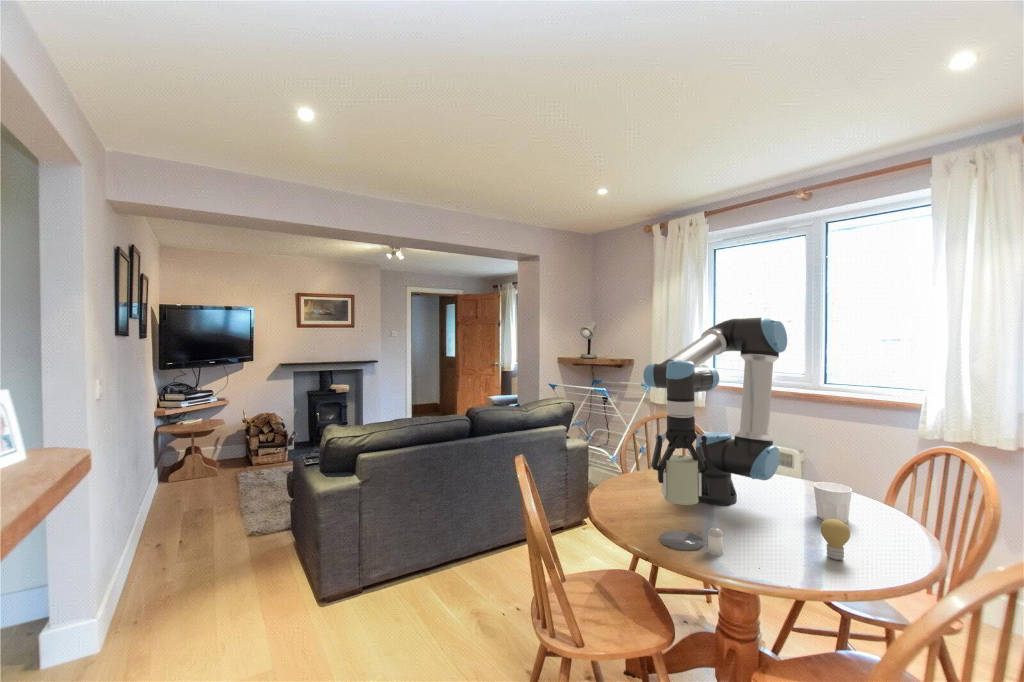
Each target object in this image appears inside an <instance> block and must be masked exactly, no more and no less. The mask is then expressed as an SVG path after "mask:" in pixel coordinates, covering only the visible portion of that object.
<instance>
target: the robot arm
mask: <svg viewBox="0 0 1024 682" xmlns="http://www.w3.org/2000/svg"><path fill="white" fill-rule="evenodd" d="M787 346H788V334H787V330H786V327H785V325H784V324H783V321H781V320H780V319H779V318H776V317H765V316H764V317H749V318H730V319H728V320H724V321H723V322H722V321H721V322H719V323H717V324H715V325H713V326H712V327H710V328H708V329H706V330H705V331H703V332H702V333H701V335H700V337H699V338H698V339H696V340H695V341H693V342H691V343H690V344H689V345H688V346H687V345H686V347H683V349H680V350H679V351H677V353H675V354H673V355H672V356H670V357H668V358H667V359H665V360H664V361H663V362H661V363H650V364H649V363H648V364H647V365H646V366H645V368H644V370H643V372H642V373H643V377H642V378H643V381H644V383H645V385H646V386H647V387H651V388H656V389H666V414H667V416H666V431H665V433H662V434H659V433H656V434H655V445H654V446H655V447H654V450H653V455H652V459H651V465H650V467H651V468H652V469H653V471H657V482H658V483H659V484H661V494H662V495H663V497H664V496H667V489H666V472H665V467H666V465H667V463H666V460H669V459H670V457H671V455H673V454H674V452H675V451H676V449H684V450H685V449H686V450H688V451H689V454H690V457H693V459H694V460H695V461H697V460H698V499H699V502H700V501H701V502H700V503H703V502H705V503H704V504H708V503H709V504H710V505H714V504H716V505H715V506H727V505H728V506H729V505H733V504H736V503H737V501H738V494H737V491H736V488H735V486H734V482H733V479H732V475H736V476H737V475H738V476H742V477H745V478H750V479H752V480H760V481H768V480H770V479H772V478H773V477H774V475H775V474H776V472H777V471H778V468H779V466H780V465H779V464H780V459H781V454H780V450H779V448H778V446H776V445H774V439H773V437H771V436H770V434H769V432H770V431H769V430H770V429H769V428H770V415H771V399H772V383H773V368H774V363H775V362H776V361H777V360H778V359H779V357H780V356H779V355H780V353H783V352H785V351H786V349H787ZM725 352H740V357H741V358H742V359H743V360H744V366H743V367H744V368H743V383H742V394H741V395H742V397H741V398H742V399H741V408H740V409H741V411H740V423H739V426H740V427H739V430H738V432H736V433H735V434H734V438H733V437H732V435H731V434H730V433H729V432H708V433H707V432H706V433H701V434H697V433H696V418H695V416H694V415H695V414H696V408H695V407H696V406H695V403H696V402H695V401H696V400H695V393H699V392H700V393H701V392H709V391H712V390H714V389H716V387H718V386H719V383H720V375H719V372H718V370H717V369H716V368H714V367H713V366H712V365H706V364H705V362H706V361H708V360H710V358H713V356H718V355H721V354H723V353H725ZM702 364H705V365H702ZM665 440H667V441H668V444H667V447H666V450H665V452H664V454H662V457H661V460H660V456H661V451H662V449H663V443H664V442H665ZM694 442H695V447H694V444H693V443H694ZM709 504H708V505H709Z"/></svg>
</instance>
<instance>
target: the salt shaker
mask: <svg viewBox="0 0 1024 682" xmlns="http://www.w3.org/2000/svg"><path fill="white" fill-rule="evenodd" d="M723 535H724V534H723V532H722V530H721V529H720V528H718V527H711V528H709V530H708V532H707V550H708V551H707V553H708V554H709V555H711V556H713V557H722V556H723V553H724V552H723V551H724V550H723V549H724V545H723V542H724V540H723Z"/></svg>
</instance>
